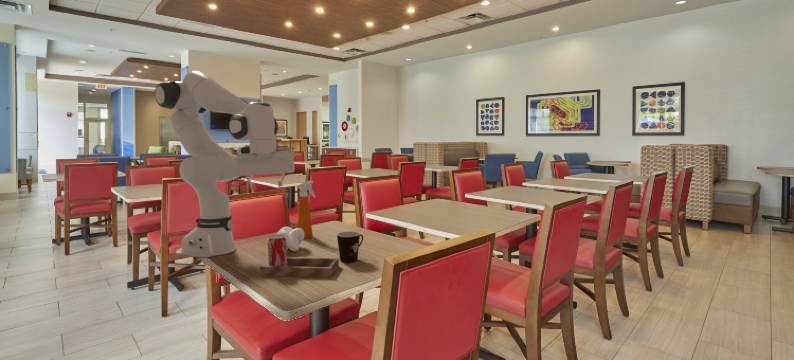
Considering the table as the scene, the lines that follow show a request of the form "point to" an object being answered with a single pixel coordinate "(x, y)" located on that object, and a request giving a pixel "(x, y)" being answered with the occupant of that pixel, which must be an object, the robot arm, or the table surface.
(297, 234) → the white lumpy piece
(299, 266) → the wooden tray
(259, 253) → the table surface
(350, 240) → the coffee mug
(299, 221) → the spray bottle
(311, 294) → the table surface
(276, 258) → the beverage can
